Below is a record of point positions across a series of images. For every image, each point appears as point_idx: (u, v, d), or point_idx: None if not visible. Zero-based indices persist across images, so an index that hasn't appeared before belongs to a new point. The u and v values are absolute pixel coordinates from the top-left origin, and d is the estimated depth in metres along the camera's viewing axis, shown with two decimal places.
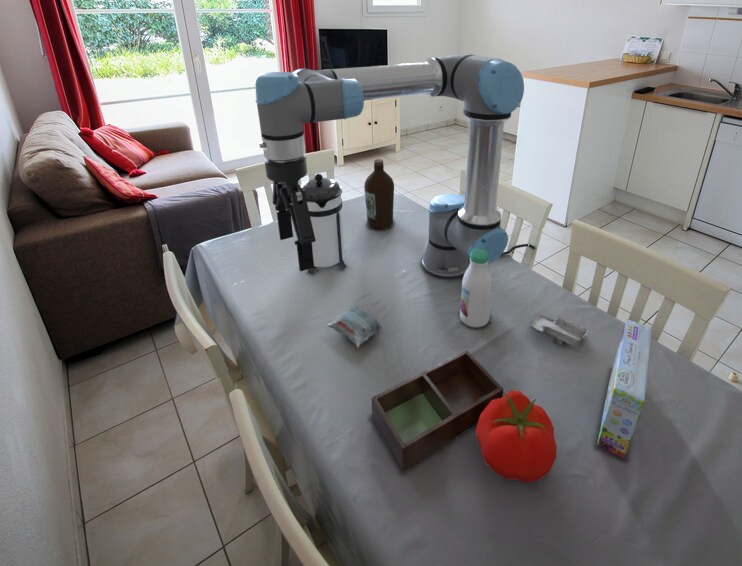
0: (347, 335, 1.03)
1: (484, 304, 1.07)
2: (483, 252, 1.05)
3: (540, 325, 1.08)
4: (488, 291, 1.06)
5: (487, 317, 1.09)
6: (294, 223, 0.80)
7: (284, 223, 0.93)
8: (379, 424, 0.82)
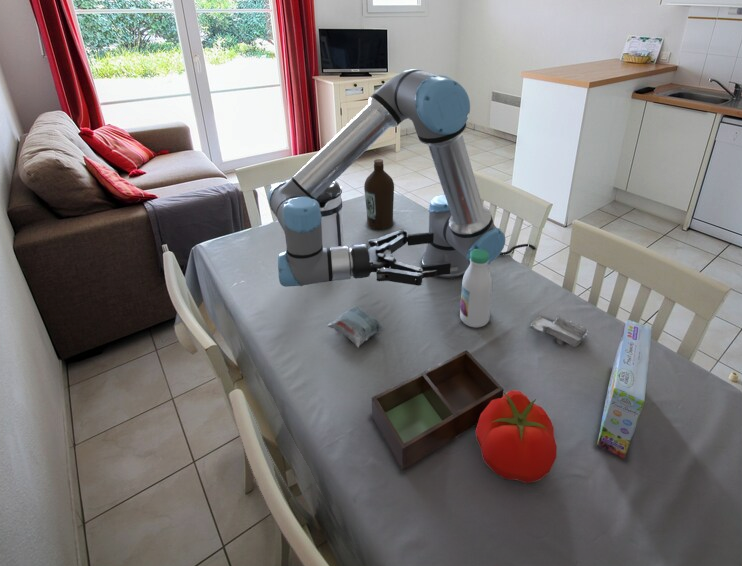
0: (347, 335, 1.03)
1: (484, 304, 1.07)
2: (483, 252, 1.05)
3: (540, 325, 1.08)
4: (488, 291, 1.06)
5: (487, 317, 1.09)
6: None
7: (418, 240, 1.07)
8: (379, 424, 0.82)
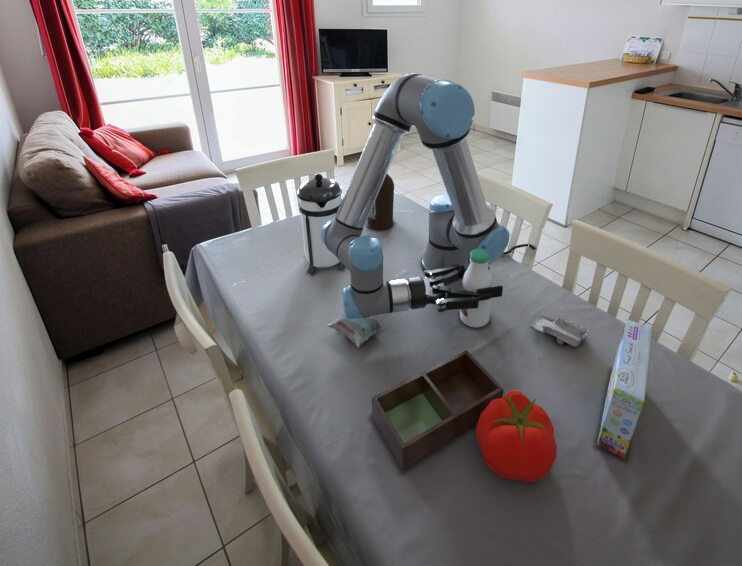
0: (347, 335, 1.03)
1: (484, 304, 1.07)
2: (483, 252, 1.05)
3: (540, 325, 1.08)
4: None
5: (487, 317, 1.09)
6: None
7: None
8: (379, 424, 0.82)
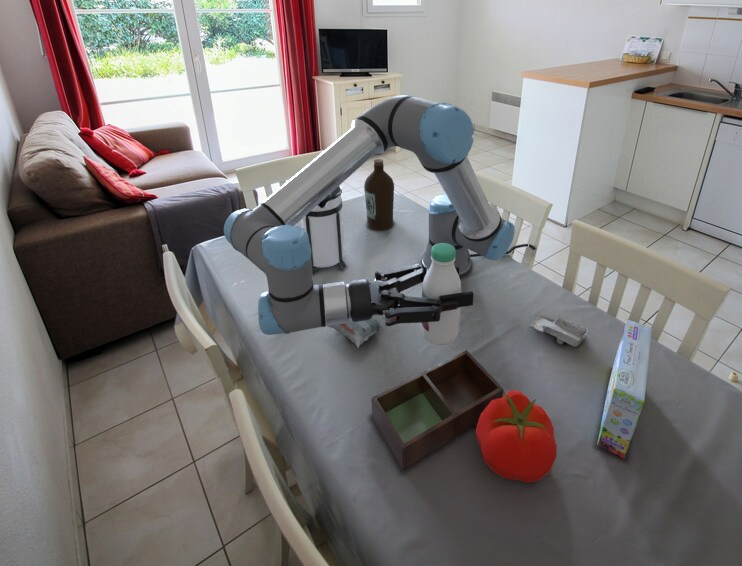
0: (347, 335, 1.03)
1: (450, 315, 0.82)
2: (448, 247, 0.80)
3: (540, 325, 1.08)
4: None
5: (455, 332, 0.84)
6: None
7: None
8: (379, 424, 0.82)
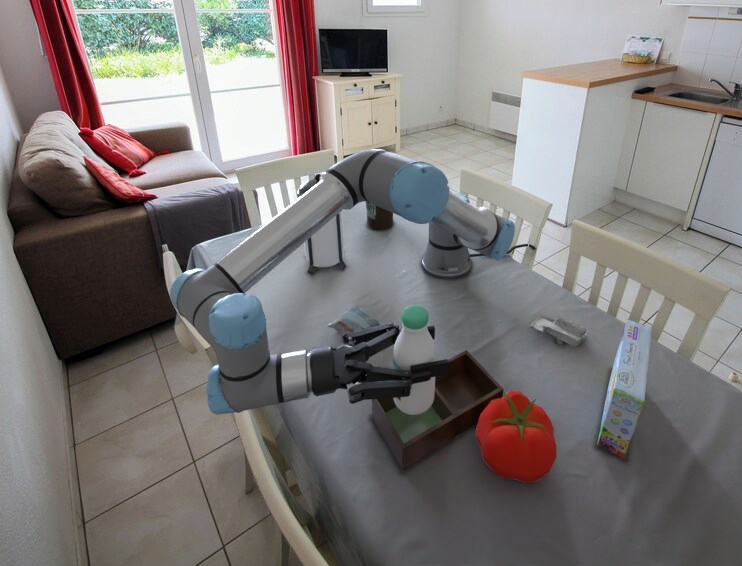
0: None
1: (423, 385, 0.75)
2: (421, 311, 0.73)
3: (540, 325, 1.08)
4: None
5: (429, 400, 0.77)
6: None
7: None
8: (379, 424, 0.82)
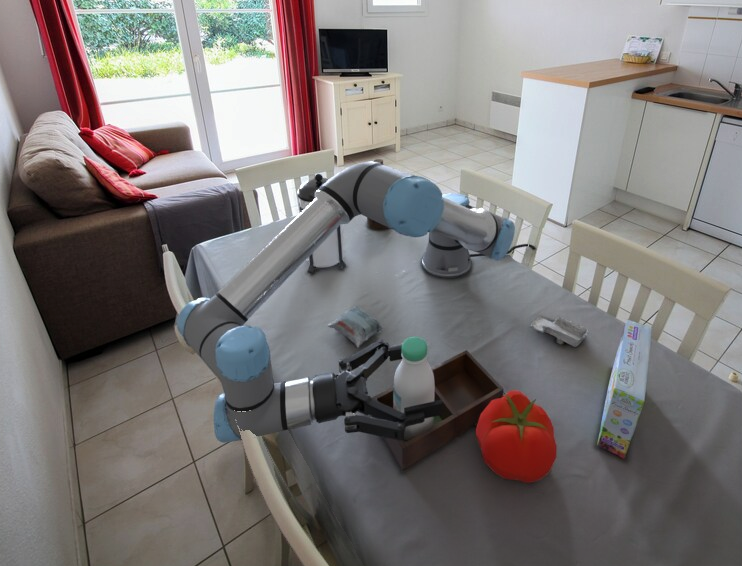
0: (347, 335, 1.03)
1: None
2: (420, 343, 0.76)
3: (540, 325, 1.08)
4: (427, 397, 0.77)
5: (428, 427, 0.80)
6: None
7: None
8: None
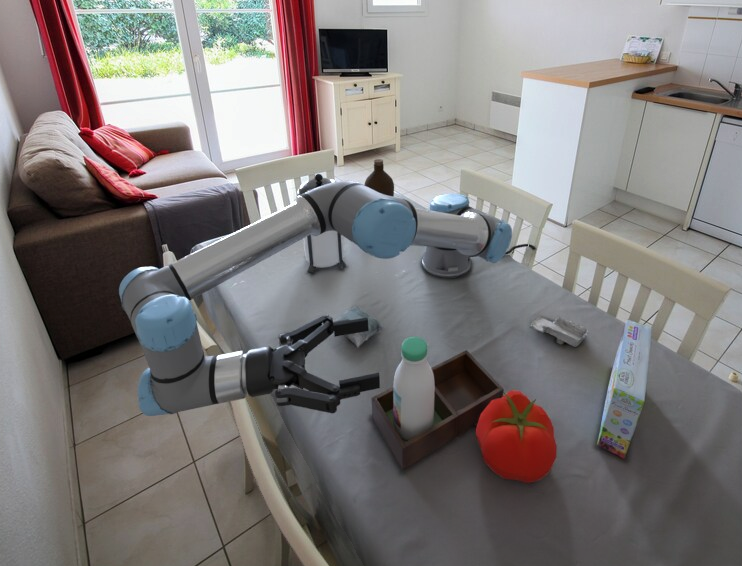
0: (347, 335, 1.03)
1: (422, 413, 0.77)
2: (420, 343, 0.76)
3: (540, 325, 1.08)
4: (427, 396, 0.77)
5: (428, 427, 0.80)
6: None
7: (348, 329, 0.82)
8: (379, 424, 0.82)
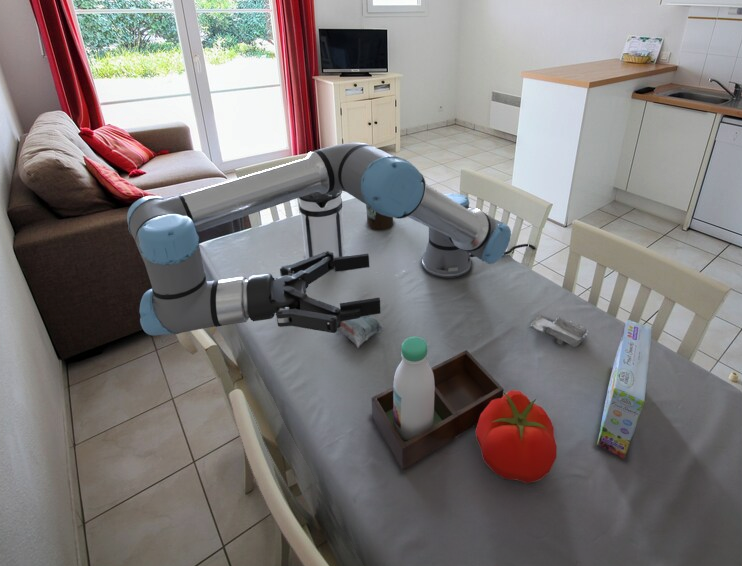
0: (347, 335, 1.03)
1: (422, 413, 0.77)
2: (420, 343, 0.76)
3: (540, 325, 1.08)
4: (427, 396, 0.77)
5: (428, 427, 0.80)
6: None
7: (349, 264, 0.82)
8: (379, 424, 0.82)
